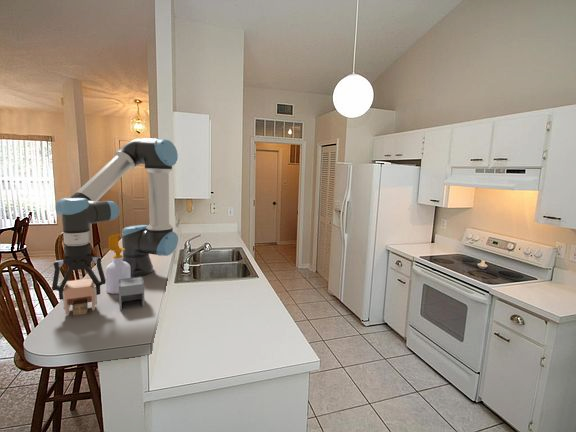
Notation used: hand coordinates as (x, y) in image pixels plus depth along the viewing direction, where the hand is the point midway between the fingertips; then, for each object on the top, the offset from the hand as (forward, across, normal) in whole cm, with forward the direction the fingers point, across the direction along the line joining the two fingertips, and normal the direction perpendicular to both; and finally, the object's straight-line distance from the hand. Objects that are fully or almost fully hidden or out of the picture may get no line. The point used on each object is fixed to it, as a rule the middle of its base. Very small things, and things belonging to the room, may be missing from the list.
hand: (81, 305), depth 109 cm
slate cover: (+3, +16, 0) cm, 16 cm away
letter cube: (+3, 0, 0) cm, 3 cm away
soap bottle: (+3, +12, +17) cm, 21 cm away
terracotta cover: (+1, 0, 0) cm, 1 cm away
